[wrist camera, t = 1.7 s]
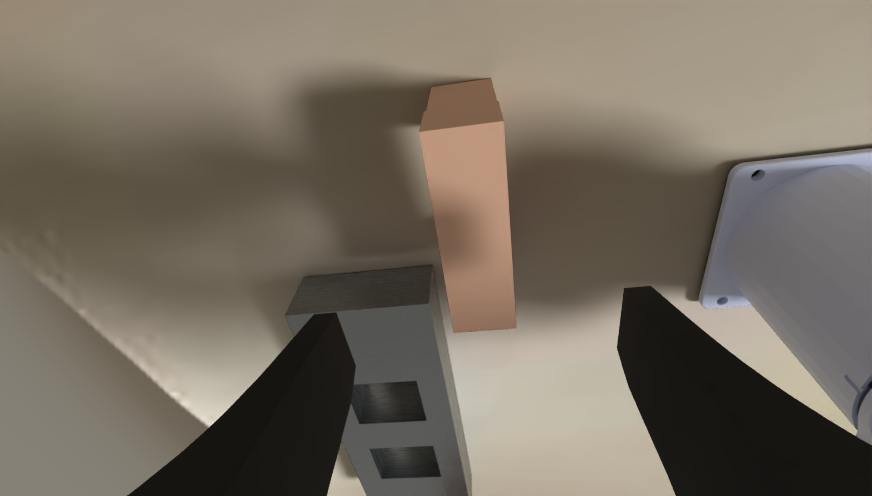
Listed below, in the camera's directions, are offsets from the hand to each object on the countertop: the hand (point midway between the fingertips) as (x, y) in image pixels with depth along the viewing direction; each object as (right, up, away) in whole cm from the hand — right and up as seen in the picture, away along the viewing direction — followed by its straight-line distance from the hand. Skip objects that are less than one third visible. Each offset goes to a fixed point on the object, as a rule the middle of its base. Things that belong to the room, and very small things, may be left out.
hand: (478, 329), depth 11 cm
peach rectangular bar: (0, +6, +8) cm, 10 cm away
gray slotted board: (-3, -7, +17) cm, 19 cm away
